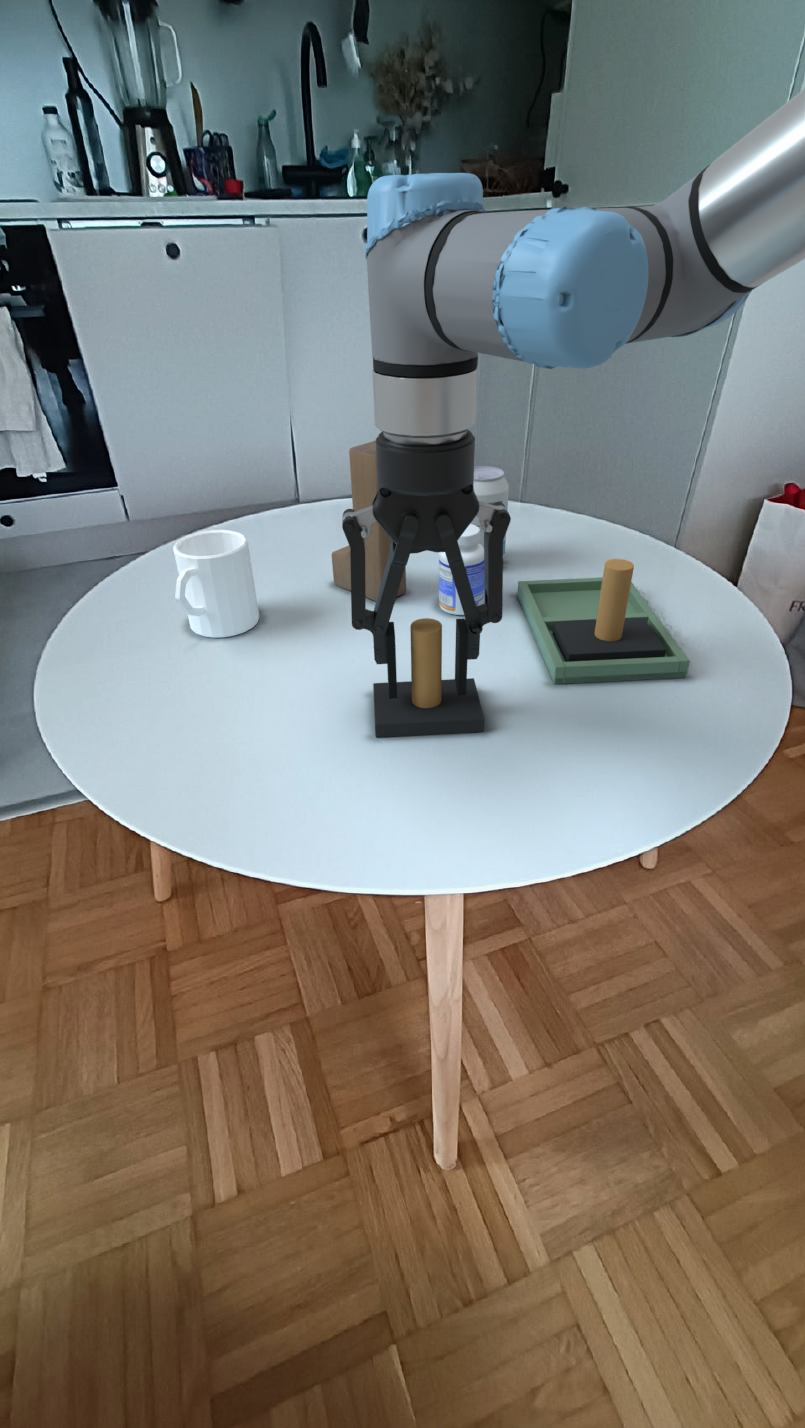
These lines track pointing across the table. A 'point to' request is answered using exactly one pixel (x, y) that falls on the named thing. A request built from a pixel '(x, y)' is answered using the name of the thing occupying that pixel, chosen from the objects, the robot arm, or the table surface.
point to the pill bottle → (474, 569)
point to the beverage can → (490, 492)
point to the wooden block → (379, 540)
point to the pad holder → (580, 604)
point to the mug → (216, 583)
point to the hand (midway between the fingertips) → (426, 688)
